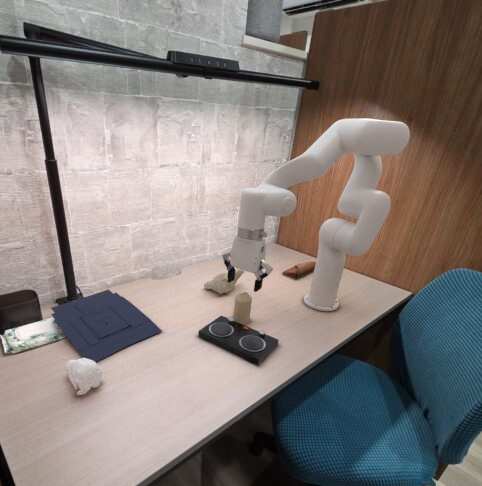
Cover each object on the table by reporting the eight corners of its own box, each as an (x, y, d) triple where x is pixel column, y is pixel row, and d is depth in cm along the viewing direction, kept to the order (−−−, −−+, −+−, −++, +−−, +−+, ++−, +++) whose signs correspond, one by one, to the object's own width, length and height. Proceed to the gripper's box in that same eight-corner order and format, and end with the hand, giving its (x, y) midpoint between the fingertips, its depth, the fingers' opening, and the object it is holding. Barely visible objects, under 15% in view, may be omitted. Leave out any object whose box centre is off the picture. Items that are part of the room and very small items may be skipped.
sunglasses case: (302, 263, 152) (311, 254, 147) (312, 274, 150) (321, 265, 145) (280, 273, 141) (289, 263, 136) (291, 285, 139) (300, 275, 134)
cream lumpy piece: (204, 302, 121) (236, 285, 113) (197, 285, 121) (228, 266, 114) (222, 298, 134) (252, 282, 126) (215, 283, 135) (244, 266, 127)
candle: (240, 314, 110) (242, 288, 105) (252, 320, 106) (256, 294, 102) (229, 319, 106) (231, 293, 102) (242, 326, 103) (245, 299, 98)
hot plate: (220, 320, 106) (221, 312, 104) (277, 345, 95) (279, 336, 93) (198, 336, 97) (198, 327, 96) (258, 365, 86) (259, 356, 84)
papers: (113, 294, 117) (113, 285, 115) (162, 337, 100) (163, 328, 98) (45, 316, 102) (44, 307, 100) (90, 371, 85) (89, 362, 83)
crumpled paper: (75, 372, 69) (52, 352, 76) (83, 403, 72) (60, 380, 80) (101, 359, 73) (77, 341, 80) (107, 389, 76) (84, 368, 84)
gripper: (282, 236, 90) (273, 290, 98) (232, 224, 99) (227, 274, 107) (270, 242, 85) (262, 298, 93) (218, 229, 94) (214, 281, 102)
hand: (243, 285), depth 100 cm, fingers open, 9 cm apart
